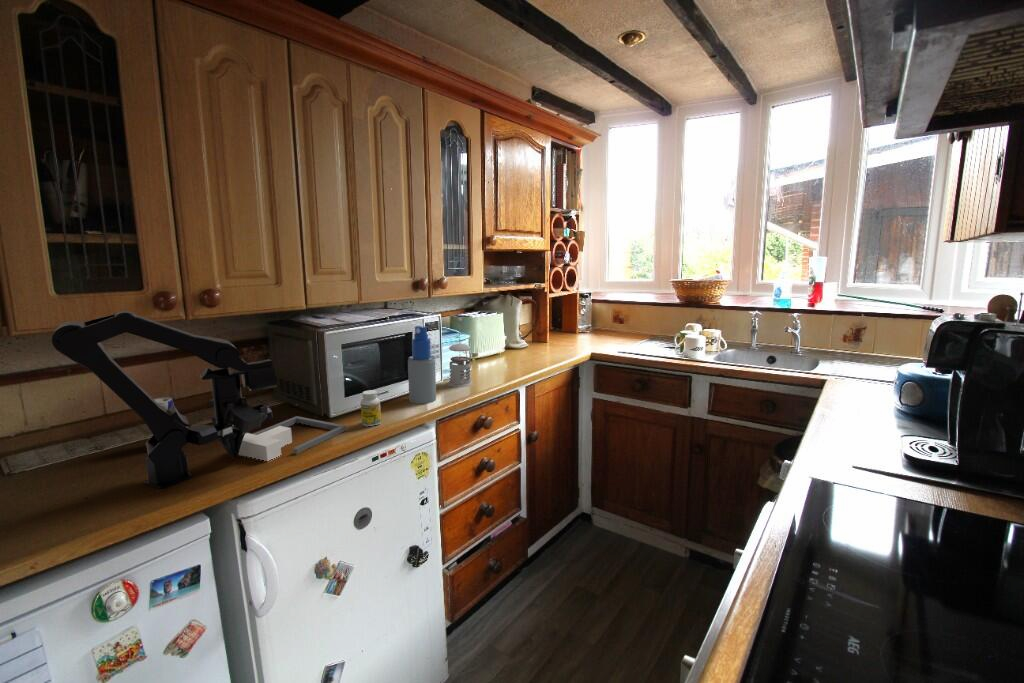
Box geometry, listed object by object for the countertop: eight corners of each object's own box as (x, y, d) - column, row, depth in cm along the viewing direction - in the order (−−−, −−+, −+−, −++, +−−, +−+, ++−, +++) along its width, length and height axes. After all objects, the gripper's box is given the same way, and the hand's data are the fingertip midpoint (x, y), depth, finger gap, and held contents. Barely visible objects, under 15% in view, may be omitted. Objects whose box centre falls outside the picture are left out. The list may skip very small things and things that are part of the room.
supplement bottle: (382, 420, 144) (381, 389, 142) (379, 426, 139) (378, 394, 137) (363, 420, 144) (362, 389, 142) (360, 427, 138) (358, 395, 137)
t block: (267, 462, 116) (266, 446, 115) (232, 453, 121) (231, 438, 120) (303, 445, 126) (302, 430, 125) (270, 437, 131) (268, 423, 130)
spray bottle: (426, 405, 158) (424, 329, 153) (403, 401, 161) (401, 327, 156) (441, 397, 166) (439, 325, 161) (418, 394, 169) (416, 323, 164)
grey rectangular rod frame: (297, 454, 120) (296, 448, 120) (244, 442, 127) (244, 436, 127) (346, 430, 136) (345, 425, 136) (297, 420, 143) (296, 416, 143)
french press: (442, 385, 180) (440, 318, 175) (457, 377, 191) (456, 314, 186) (465, 388, 176) (464, 320, 171) (480, 380, 187) (479, 316, 182)
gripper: (212, 412, 100) (220, 482, 103) (286, 388, 117) (291, 448, 120) (177, 404, 104) (186, 472, 107) (253, 382, 121) (259, 441, 124)
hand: (234, 457), depth 115 cm, fingers closed
